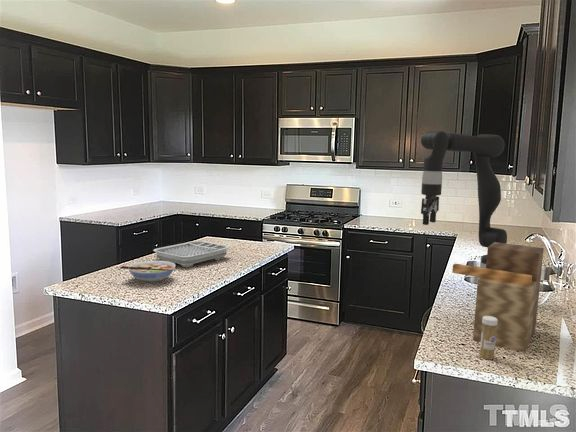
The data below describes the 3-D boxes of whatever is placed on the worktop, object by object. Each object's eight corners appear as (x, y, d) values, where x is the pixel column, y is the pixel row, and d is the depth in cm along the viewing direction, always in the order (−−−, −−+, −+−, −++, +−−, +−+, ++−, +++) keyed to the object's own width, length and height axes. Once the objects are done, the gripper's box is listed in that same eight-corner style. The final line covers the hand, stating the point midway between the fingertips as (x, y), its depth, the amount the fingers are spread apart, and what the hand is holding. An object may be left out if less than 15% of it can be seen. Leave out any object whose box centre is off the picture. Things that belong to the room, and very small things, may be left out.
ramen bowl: (184, 275, 243) (184, 260, 242) (168, 289, 220) (168, 271, 219) (137, 273, 246) (137, 257, 244) (117, 286, 223) (116, 269, 222)
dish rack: (149, 261, 272) (148, 248, 271) (198, 251, 300) (198, 239, 299) (184, 271, 252) (184, 256, 251) (233, 259, 281) (233, 246, 280)
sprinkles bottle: (488, 361, 152) (492, 321, 150) (476, 355, 156) (479, 316, 154) (497, 358, 155) (500, 318, 153) (484, 352, 159) (488, 314, 157)
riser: (472, 339, 169) (480, 252, 165) (487, 320, 189) (494, 242, 184) (525, 352, 160) (534, 259, 155) (535, 330, 179) (543, 248, 175)
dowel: (452, 272, 175) (452, 265, 175) (454, 271, 178) (455, 263, 177) (530, 285, 161) (530, 277, 160) (531, 283, 163) (532, 275, 163)
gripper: (435, 184, 178) (432, 226, 180) (446, 182, 189) (444, 222, 192) (416, 183, 182) (413, 224, 184) (428, 181, 193) (425, 220, 196)
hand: (429, 223), depth 188 cm, fingers open, 8 cm apart
